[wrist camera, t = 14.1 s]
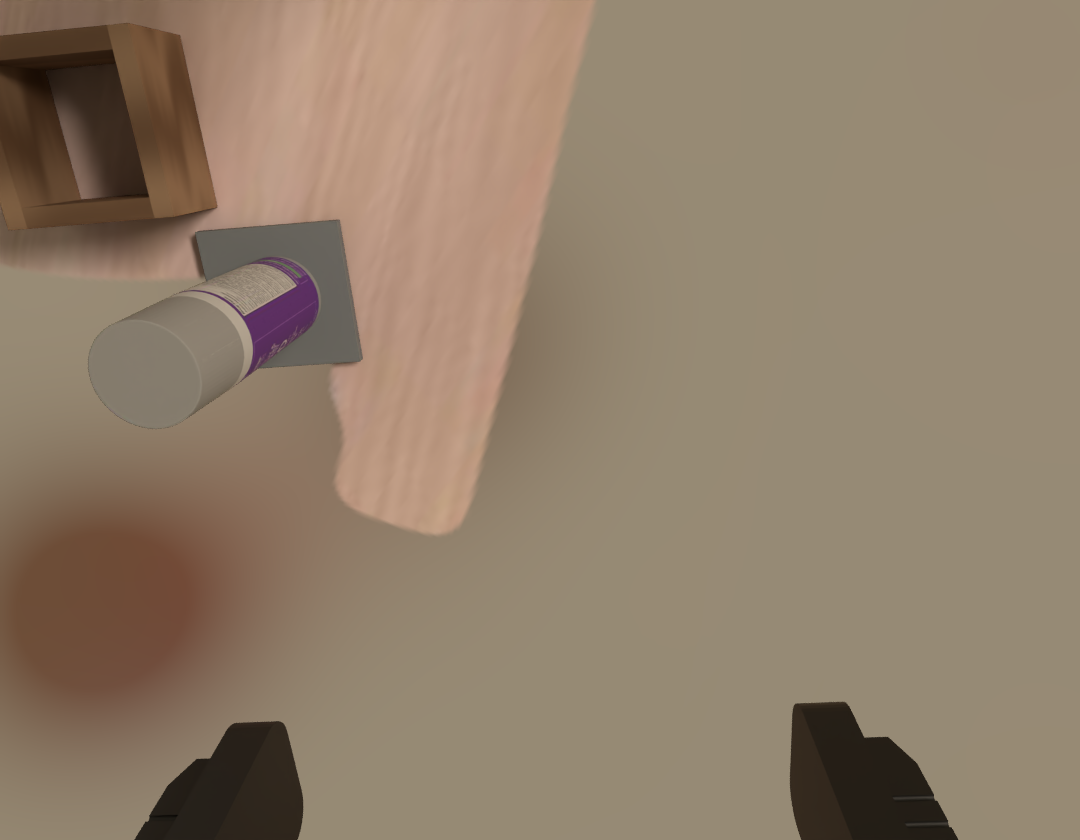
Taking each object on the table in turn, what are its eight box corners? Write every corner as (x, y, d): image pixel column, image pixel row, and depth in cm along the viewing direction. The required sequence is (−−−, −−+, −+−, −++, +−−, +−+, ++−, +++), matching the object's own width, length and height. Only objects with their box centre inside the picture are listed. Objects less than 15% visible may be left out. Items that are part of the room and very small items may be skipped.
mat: (199, 230, 44) (194, 232, 43) (339, 219, 43) (336, 220, 42) (231, 367, 46) (226, 370, 46) (362, 358, 46) (360, 361, 45)
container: (307, 350, 45) (187, 450, 31) (229, 317, 45) (72, 403, 31) (333, 276, 44) (218, 347, 30) (253, 241, 43) (98, 296, 29)
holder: (21, 50, 41) (-51, 40, 36) (179, 35, 40) (127, 22, 35) (69, 219, 44) (8, 230, 39) (217, 207, 43) (174, 216, 38)
